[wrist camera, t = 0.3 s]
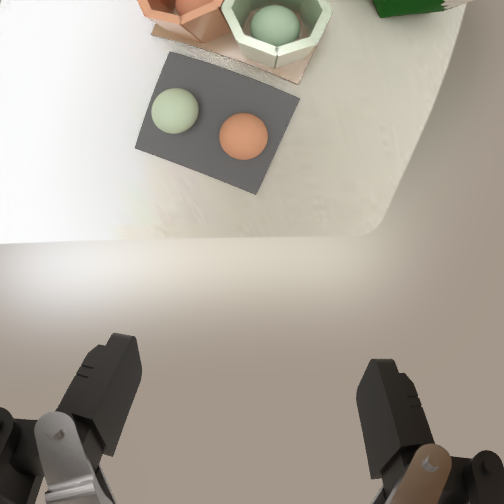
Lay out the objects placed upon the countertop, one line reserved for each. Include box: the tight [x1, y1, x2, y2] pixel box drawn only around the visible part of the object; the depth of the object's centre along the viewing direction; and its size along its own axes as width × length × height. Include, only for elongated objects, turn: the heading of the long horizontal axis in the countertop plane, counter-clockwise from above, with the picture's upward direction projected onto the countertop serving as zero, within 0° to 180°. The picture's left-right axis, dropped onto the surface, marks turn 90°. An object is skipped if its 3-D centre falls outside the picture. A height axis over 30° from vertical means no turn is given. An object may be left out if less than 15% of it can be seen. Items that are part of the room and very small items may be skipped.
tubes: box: [137, 0, 333, 85], centre depth 22 cm, size 8×16×10 cm, turn 67°
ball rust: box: [219, 113, 268, 160], centre depth 29 cm, size 4×4×4 cm
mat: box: [135, 52, 300, 195], centre depth 31 cm, size 11×14×1 cm
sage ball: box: [250, 5, 300, 47], centre depth 24 cm, size 4×4×4 cm
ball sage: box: [151, 88, 199, 134], centre depth 28 cm, size 4×4×4 cm
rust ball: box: [176, 0, 213, 16], centre depth 23 cm, size 4×4×4 cm
